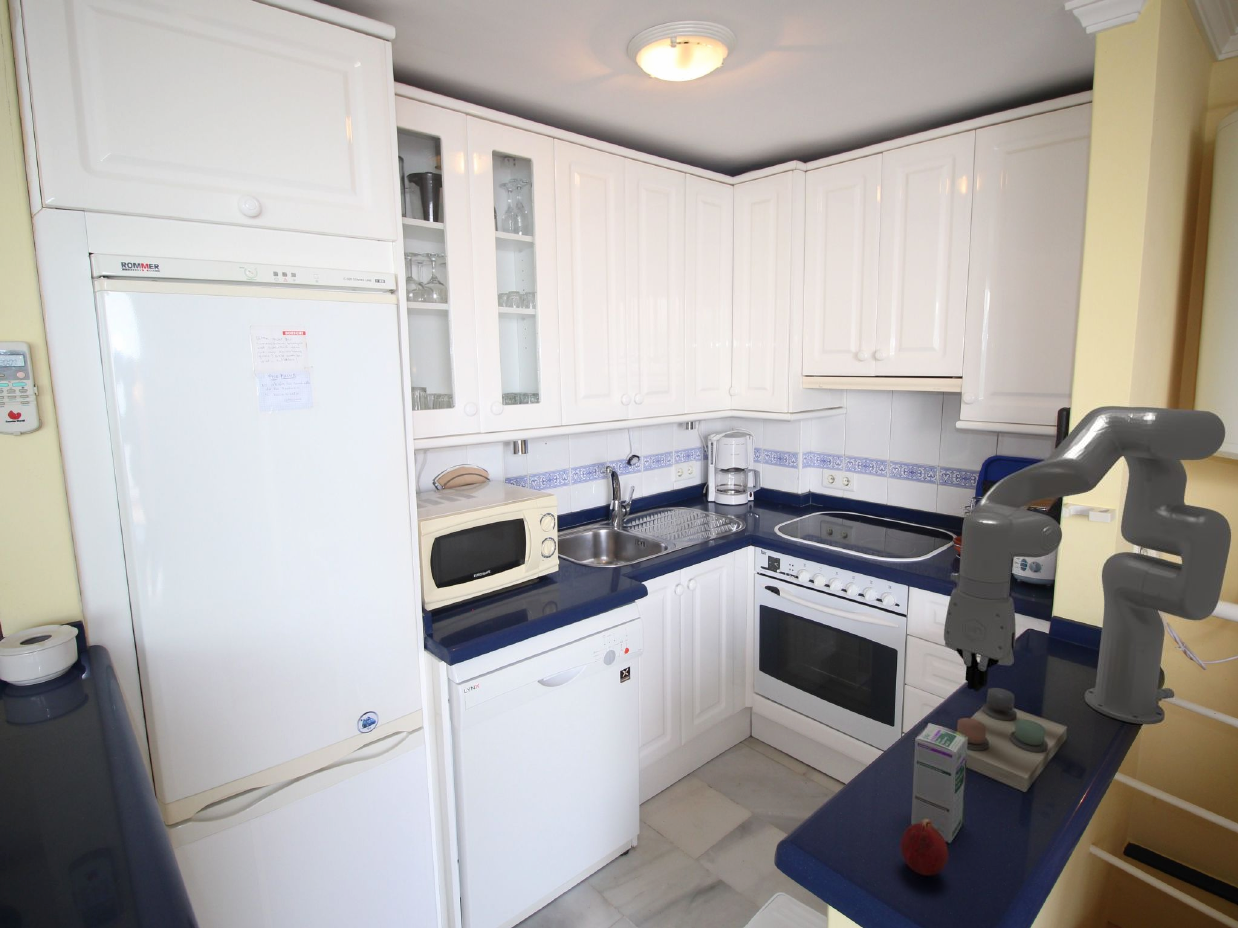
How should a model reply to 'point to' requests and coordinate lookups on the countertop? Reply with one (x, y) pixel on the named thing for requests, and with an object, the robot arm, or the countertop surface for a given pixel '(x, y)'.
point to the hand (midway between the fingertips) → (975, 687)
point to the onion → (924, 848)
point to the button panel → (1012, 747)
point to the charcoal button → (1000, 699)
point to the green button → (1029, 732)
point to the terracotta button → (972, 730)
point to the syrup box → (939, 779)
